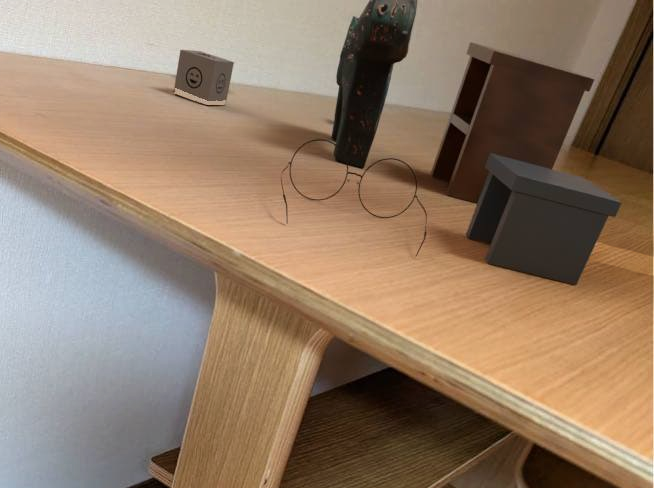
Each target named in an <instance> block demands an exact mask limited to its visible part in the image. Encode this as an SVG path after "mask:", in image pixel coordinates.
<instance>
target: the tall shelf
mask: <svg viewBox="0 0 654 488" xmlns="http://www.w3.org/2000/svg"><path fill="white" fill-rule="evenodd" d="M466 55H467V56H469V59H468V60H467V61H468V62H467V64H466V67H465V70H464V73H463V76H462V78H461V82H460V85H459V88H458V91H457V94H456V96H455V99H454V103H453V106H452V108H451V112H450V114H449V118H448V121H447V123H446V126H445V130H444V132H443V136H442V138H441V141H440V144H439V147H438V150H437V153H436V156H435V159H434V162H433V165H432V168H431V171H430V174H429V175H430V176H431V177H432V178H436V179H439V180H444V181H447V182H449V184H448V186H447V189H446V191H445V194H446V195H447V196H448V197H451V198H455V199H459V200H463V201H467V202H471V203H475V204H477V203H478V200H479V198H480V195H481V192H482V190H483V187H484V184H485V182H486V179H487V176H488V174H489V170H488V169H486V168H485V165H486V163H487V160H488V157H489V155H490V153H492V154H496V155H499V156H503V157H507V158H511V159H515V160H518V161H522V162H526V163H530V164H533V165H537V166H541V167H545V168H548V169H552V170H554V169H553V168H554V166H555V164H556V162H557V159H558V156H559V154H560V152H561V150H562V147H563V145H564V142H565V140H566V137H567V135H568V132H569V130H570V128H571V125H572V123H573V121H574V118H575V115H576V113H577V110H578V108H579V106H580V104H581V102H582V99H583V97H584V94H585V92H588V93H590V91H591V89H592V87H593V84H594V82H595V78H593V77H590V76H587V75H585V74H582V73H578V72H575V71H572V70H569V69H567V68H563V67H560V66H557V65H553V64H550V63H547V62H542V61H540V60H535V59H532V58H529V57H525V56H521V55H517V54H514V53H510V52H508V51H504V50H500V49H497V48H494V47H490V46H486V45H482V44H479V43H475V42H472V41H469V44H468V47H467V51H466Z"/></svg>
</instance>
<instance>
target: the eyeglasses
mask: <svg viewBox="0 0 654 488" xmlns="http://www.w3.org/2000/svg"><path fill="white" fill-rule="evenodd" d="M317 141H320V142H321V141H323V142H327V143H330V144H332V145H333V146H334V147H335V146H337V145H336V144H335V142H334V141H331V140H328V139H324V138H323V139H322V138H320V139H319V138H318V139H317V138H316V139H311V140H309V141H307V142H305V143H303V144H302V145H301V146H299V147H298V148H297V150H296V151H295V152H294V154H293V156H292V157H291V161H288V163H287V166H285V168H284V169H282V171H281V174H280V176H282V174H283V172H285V171H286V169H287V168H288V167H289V178H290V182H291V184H292V186H293V188H294V189H295V191H296V192H297V193H298V194H299V195H300V196H302V197H303V198H306V199H308V200H310V201H317V202H318V201H319V202H320V201H325V200H328V199H330V198H333V197H334V196H335V195H337V194H338V193H339V192H340V191H341V190H342V188H343V187H344V185H345V184H346V182H347V183H349V182H350V180H351V179H350V178H349V179H348V175H354V176H357V177H360V180H359V181H356V185H358V190H357V191H358V198H359V201H360V204H361V205H362V207H363V209H364V210H365V211H366V212H367V213H369V214H370V215H372V216H373V217H376V218H380V219H390V218H395V217H397V216H399V215H401V214H403V213H405V212H406V210H408V209H409V208H410V206H411V205H412V203H413V202H414V200H415V198H416V201H417V202H418V204H419V205H420V206H421V208H422V209H423V211H424V214H425V223H427V222H428V220H427V219H428V215H427V214H428V213H427V210H426V208H425V207H424V206H423V204H422V203H421V201H420V200H419V198H418V195H417V191H418V181H417V177H416V174H415V172H414V169H412V167H411V166H410V165H409V164H408V163H406V161H403V160H401V159H398V158H393V157H388V158H387V157H386V158H383V159H380V160H379V159H378V160H376V161H375V162H373V163H371V165H369V166H368V167H367V168H366V169H365V171H364V172H363V173H362V174H360V173H356V172H351V171H349V165H348V163H347V159H346V157H345V154H344V153H343V151H342V150H341V149H340V148H339V147H338V146H337V147H338V148H339V149H340V150H341V152H342V153H343V155H344V157H345V160H346V164H345V165H346V174H345V178H344V182H343V183H342V184H341V186H340V188H339V189H338V190H337V191H335V193H333V194H332V195H330V196H328V197H325V198H319V199H318V198H317V199H316V198H311V197H308V196H306V195H304V194H302V193H301V192H300V191H299V190H298V189H297V187H296V186H295V184H294V182H293V179H292V173H291V171H292V169H291V168H292V163H293V160H294V158H295V156H296V154H298V152H299V150H300V149H301V148H303V147H304V146H305V145H307V144H309V143H313V142H317ZM387 160H391V161H392V160H393V161H398V162H400V163H403V164H404V165H405V166H407V167H408V168H409V169H410V171H411V172H412V174H413V176H414V180H415V191H414V195H413V197H412V200H411V201H410V203H409V204H408V206H407V207H405V208H404V210H402V211H401V212H399V213H397V214H394V215H391V216H380V215H376V214H375V213H372V212H370V211H369V210H368V209H367V208H366V206H365V205H364V204H363V202H362V199H361V193H360V190H361V189H360V188H361V183H362V180H363V178H364V176H365V174H366V173H367V171H368V170H369V169H370V168H371V167H372V166H374V165H376V164H377V163H380V162H382V161H387ZM280 183H281V189H282V197H283V201H284V205H285V212H286V224H288V222H289V221H288V220H289V219H288V218H289V217H288V203H287V198H286V194H285V190H284V186H283V180H282V178H280ZM427 233H428V232H427V226H425V231H424V234H423V240H422V242H421V244H420V246H419V248H418V249H417V252H416V254H415V256H414V257H415V258H417V256H418V254H419V252H420V250H421V248H422V246H423V244H424V242H425V240H426V237H427Z"/></svg>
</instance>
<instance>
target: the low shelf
mask: <svg viewBox="0 0 654 488" xmlns="http://www.w3.org/2000/svg"><path fill="white" fill-rule="evenodd" d="M485 168H486V169H488V170H489V174H488V176H487V179H486V182H485V184H484V187H483V190H482V192H481V195H480V198H479V200H478V203H476V206H475V209H474V211H473V213H472V216H471V220H470V222H469V225H468V227H467V230H466V232H465V236H466V238H467V239H469V240H473V241H477V242H481V243H483V244H484V243H485V244H488V245H489V248H488V251H487V253H486V255H485V258H484V260H485V262H486V263H487V264H488V265H491V266H496V267H500V268H504V269H507V270H512V271H516V272H520V273H525V274H528V275H533V276H535V277H541V278H545V279H549V280H553V281H557V282H561V283H565V284H569V285H572V286H577V285H578V283H579V281H580V278H581V276H582V274H583V272H584V269H585V268H586V265H587V263H588V261H589V259H590V258H591V254H592V252H593V251H594V249H595V246H596V244H597V242H598V240H599V239H600V235H601V233H602V231H603V229H604V227H605V225H606V222H607V220H608V218H609V217H612V218H616V216H617V214H618V212H619V210H620V208H621V206H622V203H623V202H622V201H621V200H619V199H618V198H616V197H615V196H613V195H611V194H610V193H608V191H607V192H606V191H605V190H603V188H600V187H599V186H597V185H596V184H594V183H593V182H592V181H590V180H588V179H587V178H585V177H582V176H578V175H575V174H571V173H567V172H563V171H559V170H556V169H548V168H545V167H541V166H537V165H533V164H530V163H526V162H522V161H518V160H515V159H511V158H507V157H503V156H499V155H496V154H492V153H490V155H489V157H488V160H487V163H486V165H485Z"/></svg>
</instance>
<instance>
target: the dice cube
mask: <svg viewBox="0 0 654 488" xmlns="http://www.w3.org/2000/svg"><path fill="white" fill-rule="evenodd" d="M234 64H235V61H232V60H228V59H225V58H222V57H219V56H216V55H213V54H211V53H207V52H204V51H201V50H191V49H180V51H179V56H178V62H177V69H176V75H175V82H174V88H177V89H180V90H182V91H184V92H187V93H189V94H192V95H194V96H197V97H199V98H202V99H205V100H207V101H216V100H217V101H223V100H226V102H227V101H228V100H227V99H228V95H229V90H230V84H231V79H232V74H233V69H234ZM174 88H173V89H174Z"/></svg>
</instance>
